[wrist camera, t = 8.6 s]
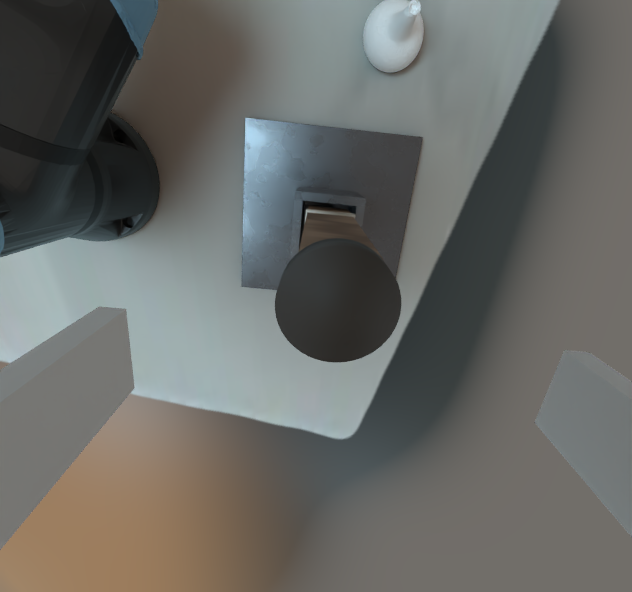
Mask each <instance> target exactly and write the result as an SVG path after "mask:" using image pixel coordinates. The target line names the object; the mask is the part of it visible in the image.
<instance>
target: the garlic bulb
mask: <svg viewBox="0 0 632 592" xmlns="http://www.w3.org/2000/svg"><path fill="white" fill-rule="evenodd" d="M420 5H421V4H420V3H418V0H417V1H416V0H411V2H409V1H408V0H385V1H383V2H381V3H380V4H378V5H377V6H376V7H375V8H374V9H373V11H372V12H371V13H370V15H369V17H368V19H367V21H366V24H365V27H364V32H363V46H364V50H365V54H366V56H367V58H368V60H369V61H370V62H371V64H372V65H373V66H374V67H376V68H377V69H378V70H380V71H383V72H388V73H392V72H398V71H400V70H402V69H404V68H405V67H407V66H408V65H409V64H410V63H411V62H412V61H413V60H414V59H415V57H416V56H417V54H418V52H419V50H420V48H421V45H422V41H423V35H424V26H423V21H422V17H421V15H420V13H419V12H420V10H421V6H420Z"/></svg>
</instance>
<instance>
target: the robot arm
mask: <svg viewBox="0 0 632 592" xmlns="http://www.w3.org/2000/svg"><path fill="white" fill-rule="evenodd" d="M157 10H158V0H0V257H3V256H6V255H10V254H13V253H16V252H20V251H23V250H26V249H30V248H33V247H36V246H40V245H43V244H46V243H50V242H53V241H57V240H60V239H64V238H67V237H70V238H77V239H83V240H89V241H110V240H115V239H119V238H122V237H124V236H127V235H130V234H132V233H134V232H136V231H137V230H139V229H140V228H142V227H143V226H144V225H145V224H146V223H147V222H148V220H149V219H150V218H151V216H152V214H153V212H154V210H155V208H156V205H157V202H158V197H159V176H158V171H157V167H156V164H155V161H154V158H153V156H152V154H151V152H150V150H149V148H148V147H147V145H146V143H145V142H144V140H143V139H142V138H141V137H140V135H139V134H138V133H137V132H136V131H135V130H134V129H133V128H132V127H131V126H130V125H129V124H128V123H127V122H125V121H124V120H123V119H121V118H120V117H118V116H116V115H115V114H113V113H111V112H110V111H111V109H112V107H113V105H114V103H115V101H116V99H117V97H118V95H119V94H120V92H121V90H122V88H123V86H124V84H125V82H126V80H127V78H128V76H129V74H130V72H131V70H132V68H133V66H134V64H135V62H136V60H140V59H141V57H142V55H143V45H144V43H145V40H146V38H147V36H148V33H149V31H150V29H151V27H152V24H153V22H154V20H155V18H156V15H157ZM133 389H134V379H133V370H132V361H131V351H130V342H129V333H128V323H127V314H126V309H119V308H109V307H98V308H96V309H95V310H93V311H92V312H90V313H89V314H87V315H85V316H84V317H82V318H81V319H79V320H78V321H76V322H74V323H73V324H71V325H70V326H68V327H67V328H65V329H63V330H62V331H60V332H59V333H57V334H56V335H54V336H53V337H51V338H49V339H48V340H46V341H45V342H43V343H42V344H40V345H38V346H37V347H35V348H34V349H32V350H31V351H29V352H28V353H26V354H24V355H23V356H21V357H20V358H18V359H17V360H15V361H13V362H12V363H10V364H9V365H7V366H6V367H4V368H3V369H1V370H0V550H1V548H2V547H3V546H4V545H5V544H6V542H7V541H8V540H9V539H10V538H11V536H12V535H13V534H14V533H15V531H16V530H17V529H18V528H19V526H20V525H21V524H22V523H23V522H24V521H25V519H26V518H27V517H28V516H29V515H30V513H31V512H32V511H33V510H34V508H35V507H36V506H37V505H38V504H39V503H40V501H41V500H42V499H43V497H45V495H46V494H47V493H48V492H49V490H50V489H51V488H52V487H53V486H54V484H55V483H56V482H57V481H58V480H59V478H60V477H61V476H62V475H63V474H64V472H65V471H66V470H67V469H68V468H69V466H70V465H71V464H72V463H73V462H74V460H75V459H76V458H77V457H78V455H79V454H80V453H81V452H82V451H83V449H84V448H85V447H86V446H87V445H88V443H89V442H90V441H91V440H92V439H93V437H94V436H95V435H96V434H97V433H98V431H99V430H100V429H101V428H102V426H103V425H104V424H105V423H106V422H107V420H108V419H109V418H110V417H111V416H112V415H113V413H114V412H115V411H116V410H117V408H118V407H119V406H120V405H121V404H122V402H123V401H124V400H125V399H126V398H127V396H128V395H129V394H130V393H131V392H132V390H133ZM535 424H536V425H537V426H538V427H539V428H540V429H541V431H542V432H543V433H544V434H545V435H546V437H547V438H548V439H549V440H550V441H551V442H552V444H553V445H554V446H555V447H556V448H557V449H558V451H559V452H560V453H561V454H562V455H563V457H564V458H565V459H566V460H567V461H568V462H569V464H570V465H571V466H572V467H573V468H574V470H575V471H576V472H577V473H578V474H579V475H580V477H581V478H582V479H583V480H584V481H585V482H586V484H587V485H588V486H589V487H590V489H591V490H592V491H593V492H594V493H595V494H596V495H597V496H598V498H599V499H600V500H601V501H602V503H603V504H604V505H605V506H606V507H607V508H608V510H609V511H610V512H611V513H612V514H613V516H614V517H615V518H616V519H617V520H618V521H619V523H620V524H621V525H622V526H623V527H624V528H625V530H626V531H627V532H628V533H629V535H630V536H631V537H632V381H630V380H629V379H627V378H626V377H624V376H623V375H622V374H620V373H619V372H617V371H616V370H614V369H613V368H611V367H610V366H608V365H607V364H605V363H604V362H602V361H601V360H600V359H598V358H597V357H595V356H594V355H592V354H591V353H589V352H581V351H570V350H564V353H563V355H562V357H561V360H560V362H559V365H558V367H557V370H556V372H555V374H554V377H553V379H552V382H551V384H550V387H549V389H548V391H547V394H546V397H545V399H544V401H543V404H542V406H541V408H540V411H539V413H538V416H537V418H536V420H535Z"/></svg>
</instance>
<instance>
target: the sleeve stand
mask: <svg viewBox="0 0 632 592" xmlns="http://www.w3.org/2000/svg"><path fill="white" fill-rule="evenodd" d="M422 138H423V137H414V136H405V135H396V134H387V133H378V132H369V131H360V130H352V129H343V128H334V127H325V126H316V125H307V124H298V123H289V122H280V121H271V120H262V119H253V118H246V119H245V162H244V204H243V247H242V287H251V288H262V289H272V290H277V289H278V286H279V283H280V280H281V277H282V274H283V272H284V270H285V268H286V266H287V265H288V263H289V262H290V260H291V259H292V258H293V257H294V256H295V255H296V254H297V253H298V252H299V248H300V243H301V239H302V234H303V230H304V225H305V214H306V209H308V208H309V205H311V206H320V207H330V208H340V209H348V210H349V211H350V213H353V214H355V220H356V221H357V223H358V224H359V226H360V227H361V228H362V230H363V231H364V233H365V234H366V235H367V237H368V238H369V240H370V241H371V243H372V244H373V245H374V247H375V248H376V250H377V251H378V252H379V254H380V255H381V257H382V258H383V259H384V260H383V261H384V262H385V263H386V265H387V266H388V268H389V269H390V271H391V272H392V274H393V275H394V277H395V278H396V273H397V268H398V262H399V257H400V252H401V247H402V242H403V237H404V231H405V226H406V221H407V216H408V211H409V205H410V200H411V195H412V190H413V185H414V180H415V174H416V169H417V164H418V159H419V154H420V148H421V143H422Z"/></svg>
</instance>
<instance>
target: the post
mask: <svg viewBox="0 0 632 592" xmlns="http://www.w3.org/2000/svg"><path fill="white" fill-rule="evenodd" d="M383 260H384V259H383V258H382V257H381V255H380V254H379V252H378V251H377V250H376V248H375V247H374V245H373V244H372V243H371V241H370V240H369V238H368V237H367V235H366V234H365V233H364V231H363V230H362V228H361V227H360V226H359V224H358V223H357V221H356V220H355V214H353V213H350V211H349V210H348V209H340V208H330V207H320V206H311V205H309V208H308V209H306V214H305V225H304V230H303V234H302V239H301V243H300V248H299V252H298V253H297V254H296V255H295V256H294V257H293V258H292V259H291V260H290V262H289V263H288V265H287V266H286V268H285V270H284V272H283V274H282V277H281V280H280V283H279V286H278V289H277V293H276V299H275V312H276V318H277V321H278V324H279V327H280V329H281V331H282V333H283V334H284V336H285V337H286V338H287V340H288V341H289V342H290V343H291V344H292V345H293V346H294V347H295V348H296V349H298V350H299V351H301V352H302V353H304V354H306V355H307V356H310V357H312V358H315V359H318V360H322V361H327V362H347V361H352V360H356V359H359V358H362V357H364V356H366V355H368V354H370V353H372V352H374V351H375V350H376V349H378V348H379V347H380V346H381V345H382V344H383V343H384V342H385V341H386V340H387V339H388V338H389V337H390V335H391V334H392V332H393V331H394V329H395V327H396V325H397V322H398V320H399V316H400V311H401V295H400V290H399V286H398V283H397V281H396V279H395V277H394V275H393V274H392V272H391V271H390V269H389V268H388V266H387V265H386V263H385V262H384V261H383Z"/></svg>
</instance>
